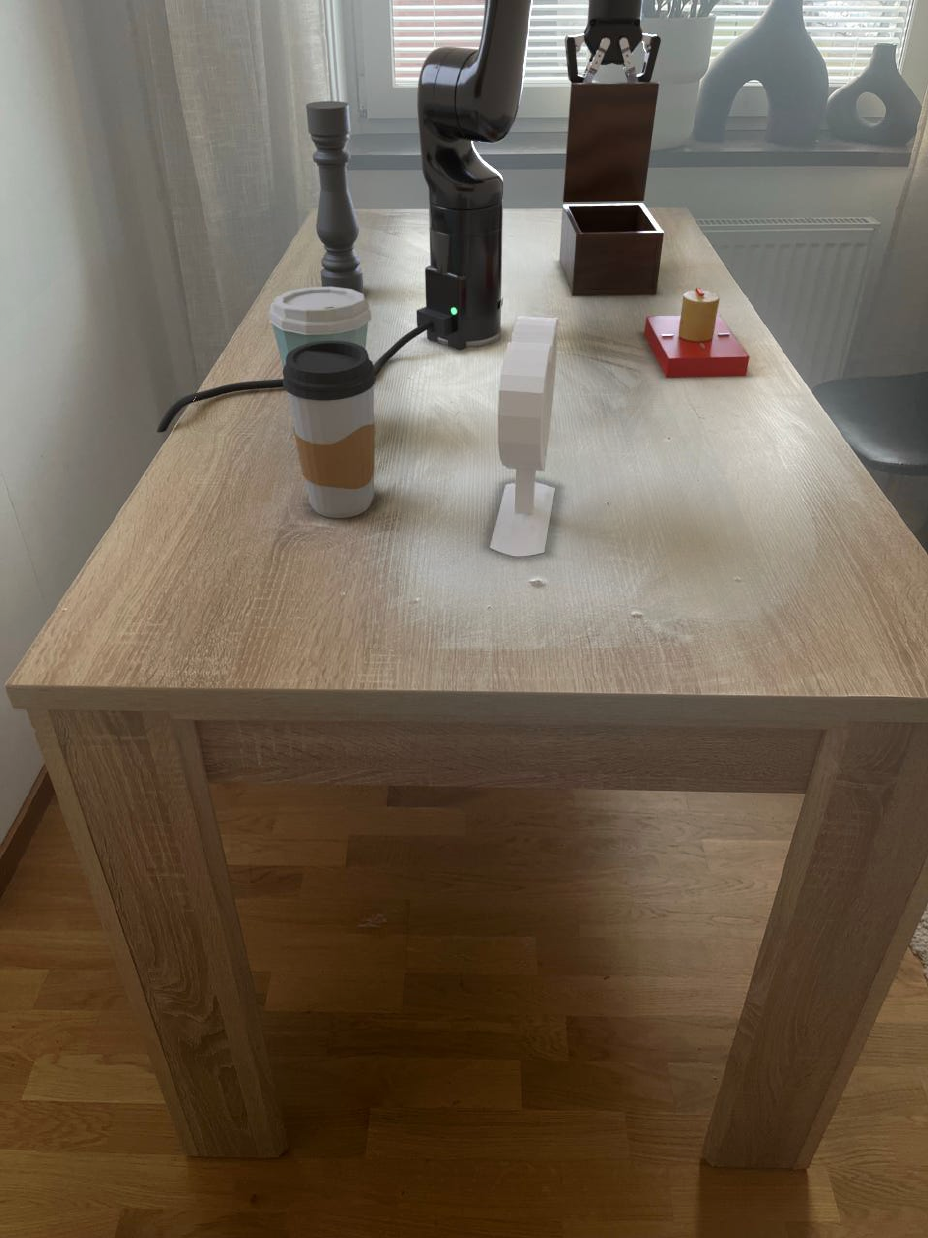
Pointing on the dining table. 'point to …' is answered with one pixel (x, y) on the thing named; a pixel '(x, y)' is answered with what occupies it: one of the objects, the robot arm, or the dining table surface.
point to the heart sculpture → (526, 435)
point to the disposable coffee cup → (319, 317)
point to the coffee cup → (333, 424)
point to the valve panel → (695, 350)
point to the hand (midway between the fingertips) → (606, 115)
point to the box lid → (609, 141)
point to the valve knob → (698, 315)
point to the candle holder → (335, 195)
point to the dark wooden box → (610, 249)
